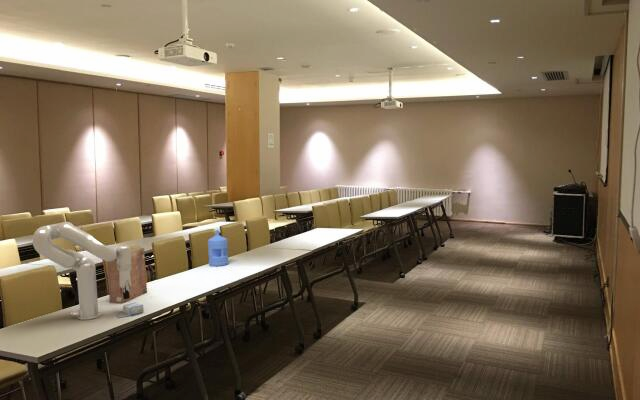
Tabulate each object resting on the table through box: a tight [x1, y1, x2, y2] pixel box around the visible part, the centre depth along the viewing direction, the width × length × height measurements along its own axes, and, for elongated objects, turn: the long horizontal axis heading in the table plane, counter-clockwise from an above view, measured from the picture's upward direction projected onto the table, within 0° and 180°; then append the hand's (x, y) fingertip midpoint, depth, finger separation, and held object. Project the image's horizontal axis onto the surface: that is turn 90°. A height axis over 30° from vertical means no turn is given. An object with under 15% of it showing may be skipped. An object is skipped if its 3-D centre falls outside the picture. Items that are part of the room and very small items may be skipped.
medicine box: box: [122, 302, 145, 316], centre depth 296 cm, size 8×4×9 cm
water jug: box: [207, 229, 229, 267], centre depth 422 cm, size 16×16×28 cm
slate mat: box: [115, 312, 142, 319], centre depth 294 cm, size 12×8×1 cm, turn 121°
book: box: [106, 247, 148, 304], centre depth 329 cm, size 25×9×30 cm, turn 164°
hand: (126, 298), depth 300 cm, fingers closed
